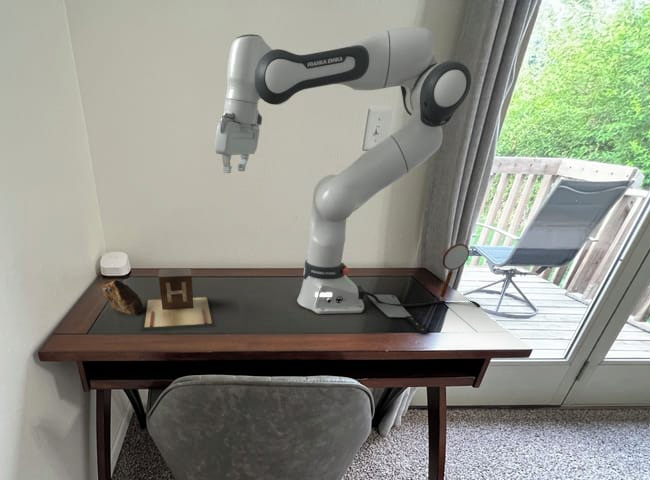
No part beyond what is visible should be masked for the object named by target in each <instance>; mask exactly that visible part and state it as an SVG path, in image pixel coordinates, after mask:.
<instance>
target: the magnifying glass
mask: <svg viewBox="0 0 650 480" xmlns="http://www.w3.org/2000/svg"><path fill="white" fill-rule="evenodd" d="M469 256H470V249H469V247H468V246H467V245H466V244H464V243H457V244H453V245H451V247H449V248H448V249H447V250H446V251H445V253H444V254H443V258H442V265H443V267H444V268H445V269H446V270H448V272H447V275H446V278H445V280H444V284H443V287H442V289H441V293H440V295H439V297H440V296H441V297H445V295H446V292H447V289H448V286H449V284H450V281H451V278H452V275H453V273H454V271H455V270H458V269H460V268H461V267H462V266H464V265H465V264H466V263H467V261H468V259H469ZM439 301H443V299H440V298H439Z"/></svg>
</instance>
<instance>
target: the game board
mask: <svg viewBox="0 0 650 480" xmlns="http://www.w3.org/2000/svg"><path fill="white" fill-rule="evenodd" d="M208 301H209V300H208V297H206V296H203V297H193V307H194V308H186V309H167V310H162V301H161V298H160V299H148V300H147V305H146V312H145V320H144V328H159V327H161V328H162V327H175V326H192V325H193V326H195V325H208V324H209V325H210V324H213V321H212V316H211V311H210V307H209V302H208Z"/></svg>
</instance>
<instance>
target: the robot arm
mask: <svg viewBox="0 0 650 480" xmlns="http://www.w3.org/2000/svg"><path fill="white" fill-rule="evenodd" d="M434 54H435V38H434V35H433V32H432V31H431V30H430V29H429V28H427V27H421V26H419V27H417V26H415V27H414V26H412V27H410V26H409V27H398V28H392V29H387V30H382V31H378V32H375V33H372V34H369V35H365V36H364V37H361V38H359V39H357V40H355V41H353V42H351V43H349V44H346V45H344V46H341V47H339V48H335V49H330V50H324V51H318V52H313V53H307V54H296V53H293V52H291V51H288V50H284V49H280V48H276V49H273V48H272V47H271V46H270V45H268V44H267V42H266V41H265V40H264V38H263V37H262V36H261V35H259V34H242V35H240V36H238V37H236V38H235V39H234V40H233V41H232V43H231V46H230V50H229V55H228V61H227V69H226V82H227V89H226V93H225V97H224V106H223V107H224V109H223V115H222V116H221V118H220V120H219V121H218V124H217V127H216V134H215V142H214V151H215V154H216V155H217V154H218V155H221V161H222V165H223V168H222V169H223V171H222V172H223V173H224V174H231V173H232V165H231V160H232V156H239V155H240V160H239V163H238V165H237V171H238V172H245V171H246V167H247V163H248V161H249V157H250V155H254V154H255V153H256V151H257V149H258V144H259V137H260V127H261V126H262V123H263V116H262V115H261V113H260V111H259V109H258V107H259V101H260V100H262V101H264V102H265V103H267V104H269V105H272V106H281V105H283V104H285V103H287V102H288V101H289V100H290V99H291V98H292V97H293V96H294V95H296V94H297V93H299V92H301V91H304V90H309V89H314V88H319V87H320V88H321V87H325V86H330V85H341V86H343V85H344V86H345V87H349V88H350V89H352V90H354V91H376V90H383V89H388V88H393V87H400V92H401V96H402V103H403V108H404V110H405V112H406V113H407V114H408V115H409V116H410V117H409V118H408V120H407V122H406V123H405V124H404V125H403V126H401V127H400V129H397V130H396V131H395V132H393V133H392V134H390V135H389V136H387V137H386V138H384V139H383V140H381V141H380V142H379V143H377V144H376V145H374V146H372V147H371V148H370V149H368V150H367V151H365V152H363V153H362V154H360V156H359V157H358V158H357V159H356V160H355V161H353V162H352V163H351V164H349V166H347V167H346V168H344V170H342V171H341V172H339V173H338V174H329V175H326V176H324V177H322V178H321V179H320V180H319V181H318V182H316V185H315V187H314V189H313V193H312V200H311V201H312V202H311V211H310V223H309V224H310V226H309V239H308V246H307V255H306V259H305V261H304V265H303V273H302V274H303V275H302V276H303V279H302V280H303V281H302V285H301V288H300V291H299V295H298V297H297V299H296V302H297V303H298V305H299V306H301V307H303V308H305V309H307V310H311V311H313V312H314V313H316V314H318V315H328V314H329V315H331V314H333V315H334V314H335V315H336V314H361V313H363V312H364V310H365V304H364V299H365V295H366V296H367V295H369V296H371V297H373V298H374V299H375V300H376V301H377V302H378V303H382V304H389V303H384V302H382V301H380V300H379V299H378V298H377V297H376V296H375V295H373V293H372V292H371V293H370V292H368V291H366V290H365V289H364V288H363V287H362V285H356V284H355V282H354V281H352V280H351V279H350V278H349V277H348V275H349V274H350V273H351V272H350V269H349V267H347V265H346V264H345V263H344V262H342V260H343V254H344V249H345V243H346V230H347V219H349V217H350V216H351V215H352V214H353V213H354V212H356V211H358V209H359V208H361V207H362V206H363V205H365V204H366V203H367V202H368V201H370V199H372V198H373V197H374V196H376V195H377V194H378V193H380V192H381V191H382V190H384V189H385V188H387V187H389V186H390V185H392V184H393V183H395V182H397V180H399V179H401V178H403V177H405V176H406V175H407V174H409V173H410V172H412V171H414V170H415V169H416V168H418V167H419V166H420V165H422V164H423V163H424V162H425V161H427V160H428V159H429V158H430V157H431V156H433V155H434V154H435V153H436V152H437V151H438V150H439V149H440V147H441V145H442V143H443V139H444V135H443V128H442V126H445V125H447V124H448V123H449V122H450V120H451V119H452V117H453V115H454V114H455V113H456V111H457V110H458V109H459V108H460V107H461V106H462V104H463V103H464V101H465V100H466V98H467V97H468V94H469V92H470V89H471V87H472V75H471V72H470V70H469V68H468V66H467V65H465V64H464V63H462V62H460V61H457V60H446V61H443V62H438V61H437V60H436V57H435V55H434ZM434 301H435V300H433V301H432V300H431V301H428V302H422V303H407V304H405V303H403V304H402V303H400V304H389V305H394V306H403V308H414V307H415V308H416V307H423V306H429V305H434V304H447V303H446V302H445V301H444V300H442V301H440V300H437V301H438V302H434ZM469 301H470V302H472V303H473V305H475V306H476V307H477V308H481V307H482V306H481V305H480V304H479V303H478V302H476V301H475V300H469ZM472 303H471V304H472Z"/></svg>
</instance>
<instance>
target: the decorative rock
mask: <svg viewBox="0 0 650 480" xmlns="http://www.w3.org/2000/svg"><path fill="white" fill-rule="evenodd" d="M101 289H102V292H103V294H104V296H105V298H106V299H107V301H108V302H109V304H110V307H111V308H112V309H114V310H116V311H118V312H121V313H125V314H128V315H131V316H136V315H138V314H139V313H140V312H142V310H143V303H142V300H141V298H140V296H139V295H138V293H137V292H136V291H134V290H133V289H132V288H131V287H130V286H129V285H127V284H125V283H124V282H121V281H120V280H116V279H115V280H113V281H111V282H108V283H103V284H102V285H101Z"/></svg>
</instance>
